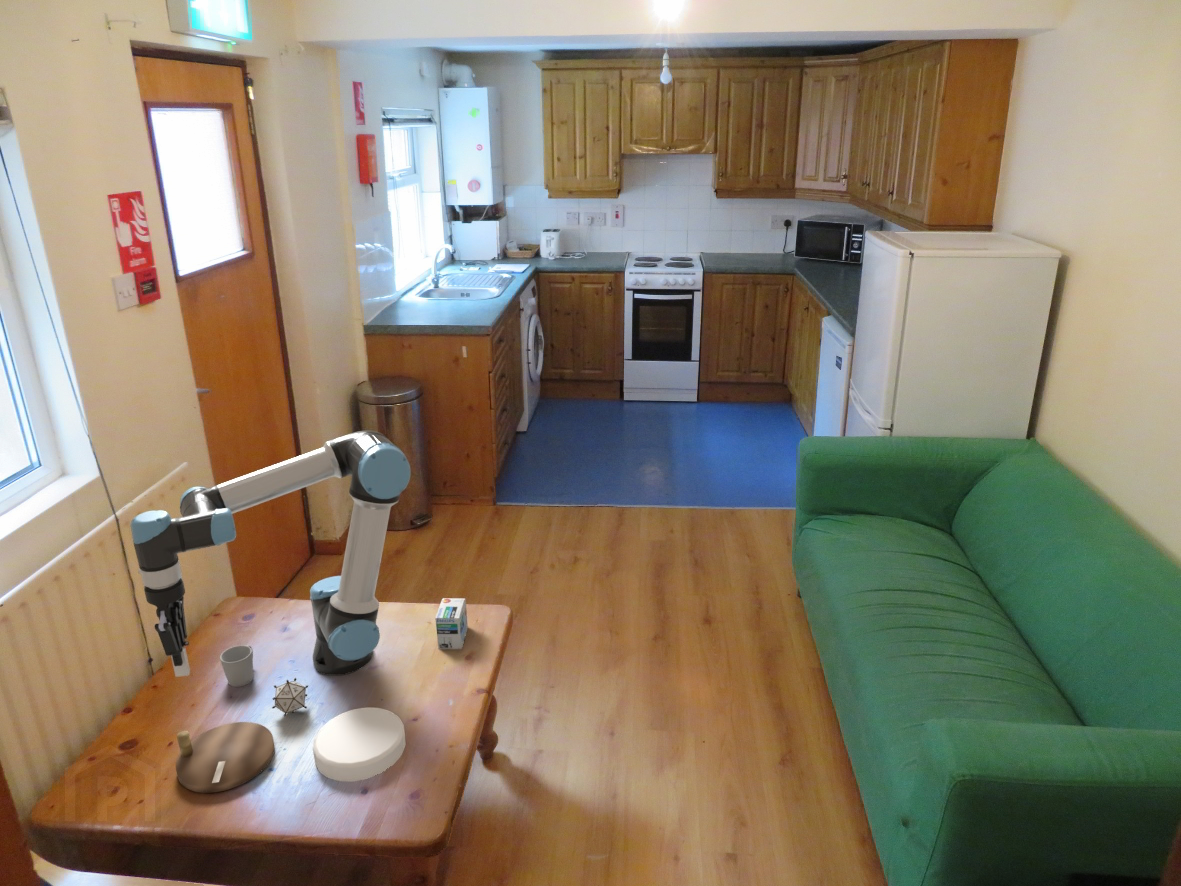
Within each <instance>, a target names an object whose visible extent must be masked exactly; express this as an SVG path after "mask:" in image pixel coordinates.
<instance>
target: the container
mask: <svg viewBox="0 0 1181 886" xmlns="http://www.w3.org/2000/svg"><path fill="white" fill-rule="evenodd" d="M312 744H313V746H312V751H313V752H312V753H313V759H314V763H315V765H316V767H317V770H318V772H320V773H321V774H322V775H323V776H325V777H326V778H328V779H331V780H334V781H337V782H351V783H352V782H358V781H363V780H368V778H369V779H371V778H373V777H375V775H376V776H378V775H381V774H382V772H383V771H384V772H386V771H387V770H388V769H389V767H390V766H391V767H392V766H394V765H395V764H396V762H398V760H400V758H401V757H402V755H403V753H404V750H405V747H406V734H405V724H404V723H403V721H402V720H401V718H400V716H398V715H397V714H396V713H393V712H392V711H391V710H387V709H385V708H380V707H360V708H356V709H355V708H353V709H350V710H348V711H345V712H342V713H340V714H338V715H336V716H335V717H333V718H331V719H329V720H328V721H327V722H326V723H325V724H324V725H323V726H322V727H321V728H320V729H319V730H318V732H317V734H316V735H315V738H314V739H313V743H312ZM391 767H390V768H391ZM387 768H388V769H387ZM386 769H387V770H386ZM384 772H383V773H384ZM377 774H378V775H377ZM372 776H373V777H372ZM370 777H371V778H370Z"/></svg>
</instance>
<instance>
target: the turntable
mask: <svg viewBox="0 0 1181 886" xmlns="http://www.w3.org/2000/svg"><path fill="white" fill-rule="evenodd" d="M176 738H177V744H178V747H179V754H178V756H177V758H176V762H175V771H176V775H177V779H178V781H179V783H180V785H182V787H184V788H186V789H188V790H190V791H192V792H196V793H204V794H207V793H208V794H209V793H219V792H224V791H227V790H230V789H234V788H237V787H239V786H241V785H243V784H245V783H247V782H249V781H251V780H253V778H255V777H257V776H258V775H259V774H261V773H262V772H263V771H264V769H266V768H267V766H268V765H270V764H269V763H270V762H271V761H272V759H273V757H274V755H275V751H276V750H275V749H276V748H275V741H274V736H273V734H272V732H271V731H270V730H269V728H267V727H266V726H265V725H262V724H260V723H258V722H257V723H256V722H252V721H239V722H231V723H226V724H222V725H219V726H217V727H214V728H211V729H209V730H206V731H204V732H202V733H201V734H199V735H198V736H196V737H194V738H193V739H191V736H190V732H189V731H188V730H181V731H179V732H178V733H177V735H176Z"/></svg>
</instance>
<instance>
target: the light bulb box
mask: <svg viewBox="0 0 1181 886" xmlns="http://www.w3.org/2000/svg"><path fill="white" fill-rule="evenodd" d="M434 618H435V628H436V638H437V649H438V650H462V649H463V648H462V647H464V645H463V644H464V643H465V641H466V637H465V636H467V633H466V632H468V629H467V628H468V627H469V625H468V612H467V600H466V598H461V597H460V598H458V597H457V598H456V597H455V598H448V597H447V598H446V597H445V598H442V599H441V601H440V604H439V607H438V610H437V611H436V615H435V617H434ZM464 640H465V641H464Z"/></svg>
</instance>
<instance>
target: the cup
mask: <svg viewBox="0 0 1181 886" xmlns="http://www.w3.org/2000/svg"><path fill="white" fill-rule="evenodd" d="M219 661H220V664H221V666H222V669H223V672H224V675H225V677H226V680H227V682H228V685H229V686H231V687H234V688H239V687H244V686H246V685H248V684H250V683H251V682H252V681H253V679H254V651H253V648H252V646H251V645H244V644H241V645H234V646H231V647H228V648H227V649H225V650H223V652H221V654H220V656H219Z"/></svg>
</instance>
